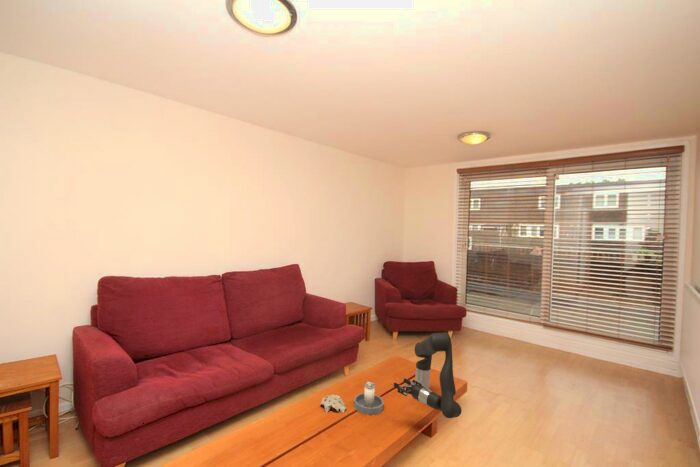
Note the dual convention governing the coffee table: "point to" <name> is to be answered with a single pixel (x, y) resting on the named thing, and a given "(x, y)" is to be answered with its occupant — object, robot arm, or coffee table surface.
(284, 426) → the coffee table surface
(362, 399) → the bowl
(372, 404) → the pebble cup
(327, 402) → the coral
